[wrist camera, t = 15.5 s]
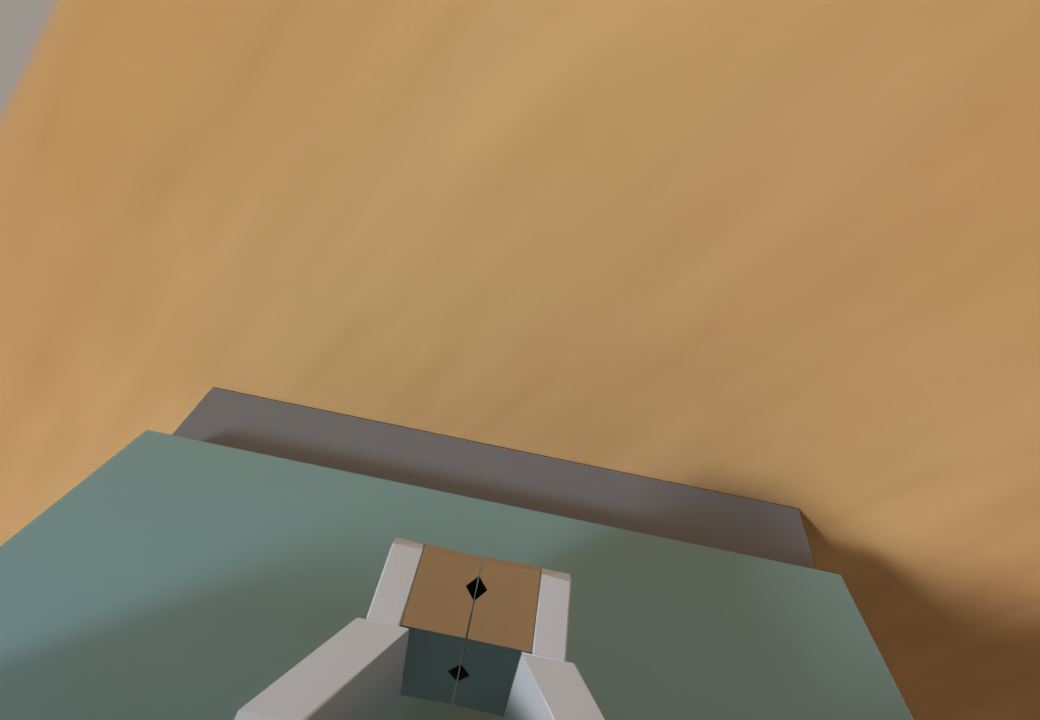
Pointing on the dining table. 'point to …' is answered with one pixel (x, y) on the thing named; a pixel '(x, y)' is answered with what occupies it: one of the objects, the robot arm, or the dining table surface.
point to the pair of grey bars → (500, 475)
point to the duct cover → (352, 584)
